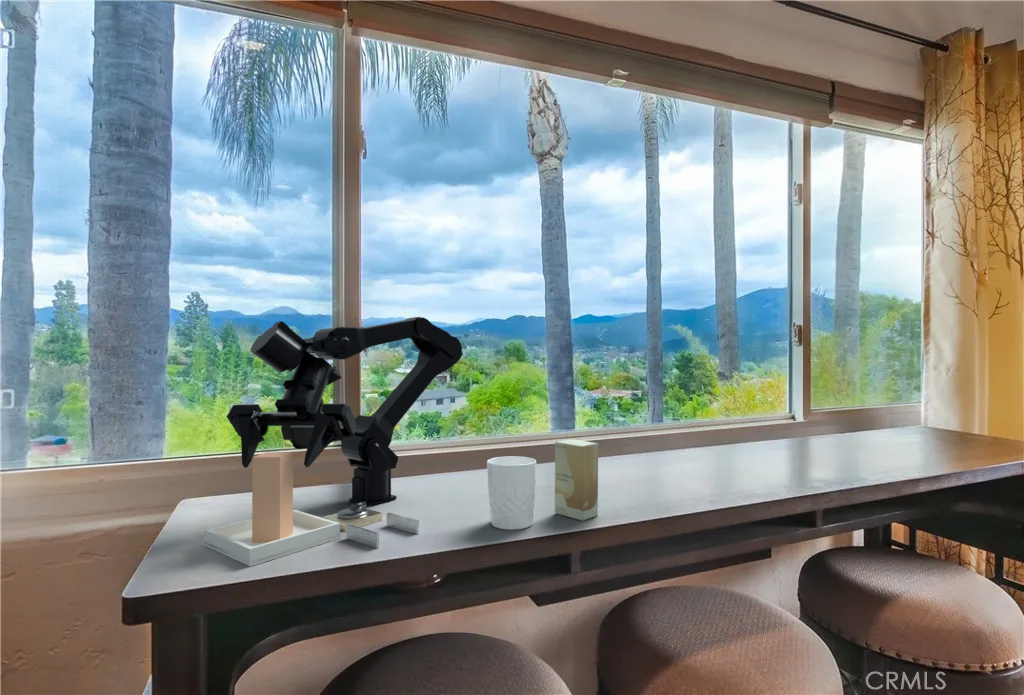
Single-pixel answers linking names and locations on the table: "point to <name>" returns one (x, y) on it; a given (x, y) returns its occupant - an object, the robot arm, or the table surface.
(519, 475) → the white cup
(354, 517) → the bracket
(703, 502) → the table surface
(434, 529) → the table surface
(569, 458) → the skincare box
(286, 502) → the tan rectangular block
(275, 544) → the tray
